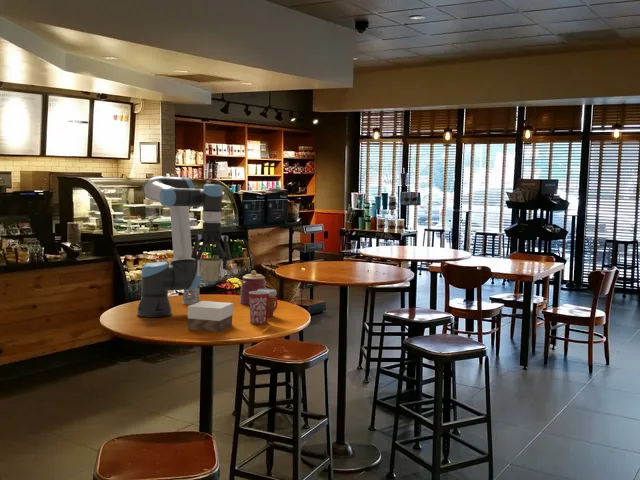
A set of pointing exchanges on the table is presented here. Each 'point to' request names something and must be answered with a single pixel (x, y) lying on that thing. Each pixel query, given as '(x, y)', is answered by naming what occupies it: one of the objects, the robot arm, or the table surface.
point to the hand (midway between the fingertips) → (210, 276)
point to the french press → (191, 299)
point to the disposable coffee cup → (272, 301)
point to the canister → (251, 286)
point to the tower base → (209, 324)
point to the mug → (260, 306)
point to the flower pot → (210, 268)
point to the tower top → (210, 310)
